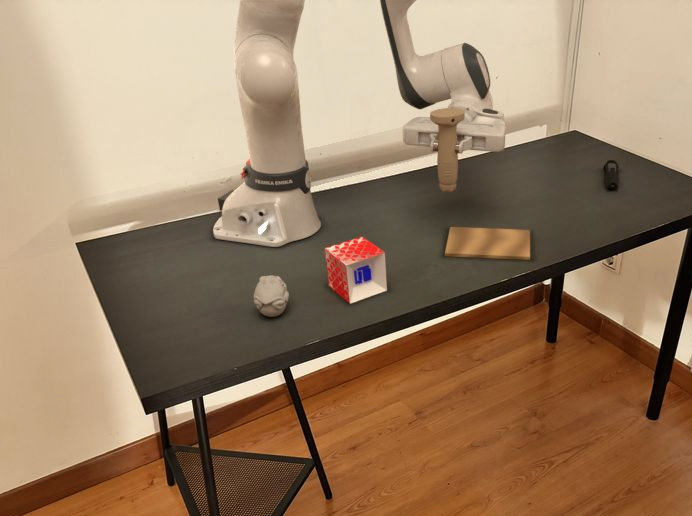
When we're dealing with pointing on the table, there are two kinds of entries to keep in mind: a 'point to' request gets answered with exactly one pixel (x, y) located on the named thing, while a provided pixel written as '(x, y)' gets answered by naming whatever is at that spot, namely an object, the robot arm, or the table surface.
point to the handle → (447, 145)
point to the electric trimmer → (611, 174)
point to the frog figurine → (271, 295)
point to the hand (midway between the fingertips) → (446, 148)
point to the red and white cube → (356, 269)
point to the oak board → (488, 243)
